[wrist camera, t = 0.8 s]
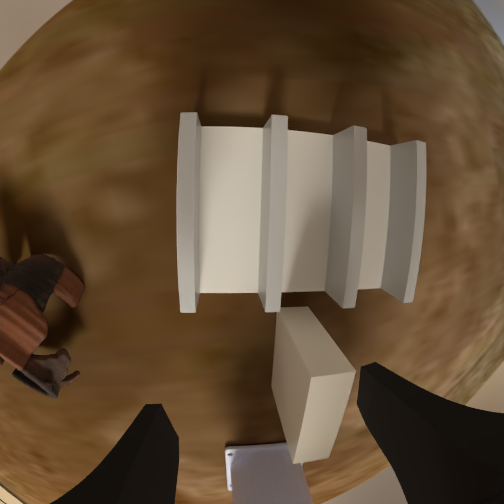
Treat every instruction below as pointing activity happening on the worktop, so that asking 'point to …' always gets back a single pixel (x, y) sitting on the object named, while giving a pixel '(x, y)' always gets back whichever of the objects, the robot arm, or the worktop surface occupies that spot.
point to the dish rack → (296, 212)
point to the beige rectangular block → (308, 384)
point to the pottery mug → (34, 320)
